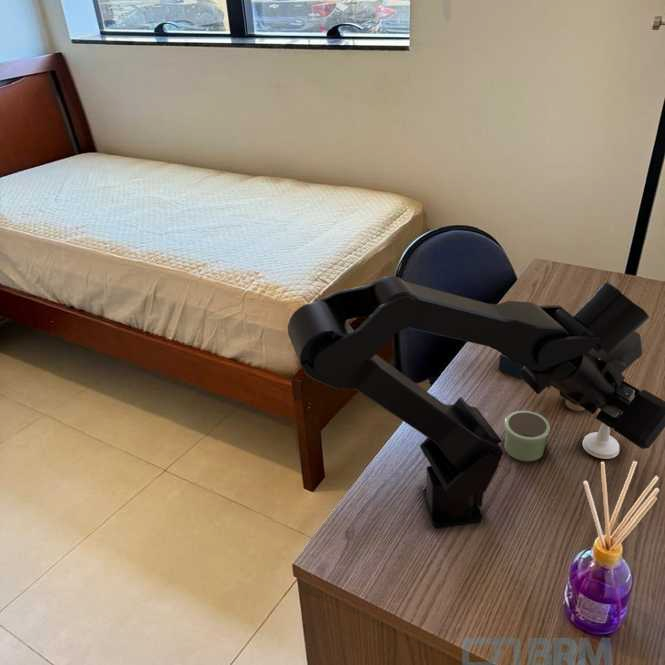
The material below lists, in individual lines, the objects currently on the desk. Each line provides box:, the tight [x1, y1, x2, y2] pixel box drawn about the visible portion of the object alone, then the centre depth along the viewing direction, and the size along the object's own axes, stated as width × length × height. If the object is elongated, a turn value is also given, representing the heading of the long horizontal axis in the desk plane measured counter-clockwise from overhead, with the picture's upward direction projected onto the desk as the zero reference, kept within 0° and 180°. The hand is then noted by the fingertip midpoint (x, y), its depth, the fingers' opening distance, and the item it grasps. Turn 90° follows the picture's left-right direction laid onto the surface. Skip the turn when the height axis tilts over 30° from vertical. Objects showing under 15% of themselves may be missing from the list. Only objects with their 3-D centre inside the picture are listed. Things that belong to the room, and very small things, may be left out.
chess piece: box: [582, 422, 620, 460], centre depth 85 cm, size 5×5×10 cm
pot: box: [503, 410, 551, 462], centre depth 88 cm, size 6×6×5 cm
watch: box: [498, 353, 524, 380], centre depth 103 cm, size 6×8×11 cm
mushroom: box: [565, 399, 586, 412], centre depth 95 cm, size 5×5×5 cm
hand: (615, 408), depth 85 cm, fingers closed on chess piece
